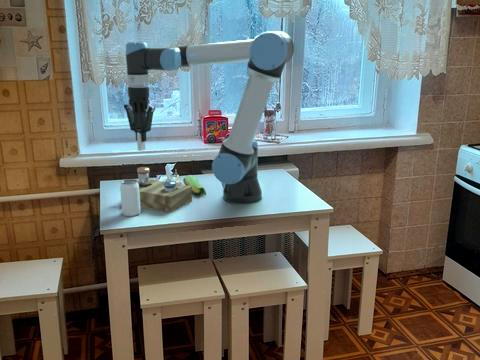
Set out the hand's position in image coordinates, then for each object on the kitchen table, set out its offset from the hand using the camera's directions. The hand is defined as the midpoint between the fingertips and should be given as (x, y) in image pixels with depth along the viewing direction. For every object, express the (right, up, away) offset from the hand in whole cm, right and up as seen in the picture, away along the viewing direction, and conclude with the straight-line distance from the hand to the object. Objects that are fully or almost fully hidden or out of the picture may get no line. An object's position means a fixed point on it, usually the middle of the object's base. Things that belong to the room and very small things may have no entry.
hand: (141, 149), depth 190 cm
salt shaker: (+11, -20, 0) cm, 23 cm away
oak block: (+6, -20, +3) cm, 21 cm away
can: (-2, -24, -8) cm, 25 cm away
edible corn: (+18, -16, +17) cm, 30 cm away
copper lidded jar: (0, -15, +5) cm, 16 cm away
